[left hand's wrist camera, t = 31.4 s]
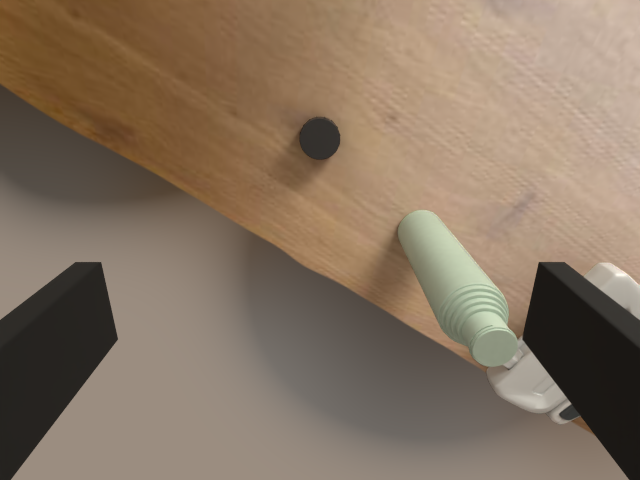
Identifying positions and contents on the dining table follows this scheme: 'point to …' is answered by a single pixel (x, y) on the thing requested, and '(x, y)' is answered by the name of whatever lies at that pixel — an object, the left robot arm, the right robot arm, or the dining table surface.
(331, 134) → the cap
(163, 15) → the dining table surface
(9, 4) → the dining table surface
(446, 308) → the bottle
